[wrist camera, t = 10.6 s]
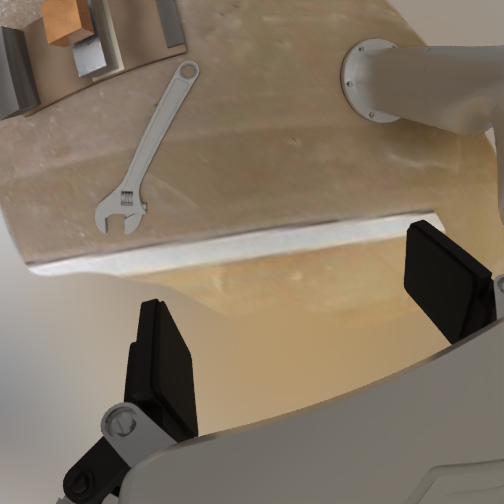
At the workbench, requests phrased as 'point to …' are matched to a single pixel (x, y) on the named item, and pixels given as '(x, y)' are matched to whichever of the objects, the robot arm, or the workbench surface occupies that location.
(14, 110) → the bench vise
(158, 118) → the adjustable wrench
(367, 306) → the workbench surface
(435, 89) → the robot arm
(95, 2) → the sliding jaw
